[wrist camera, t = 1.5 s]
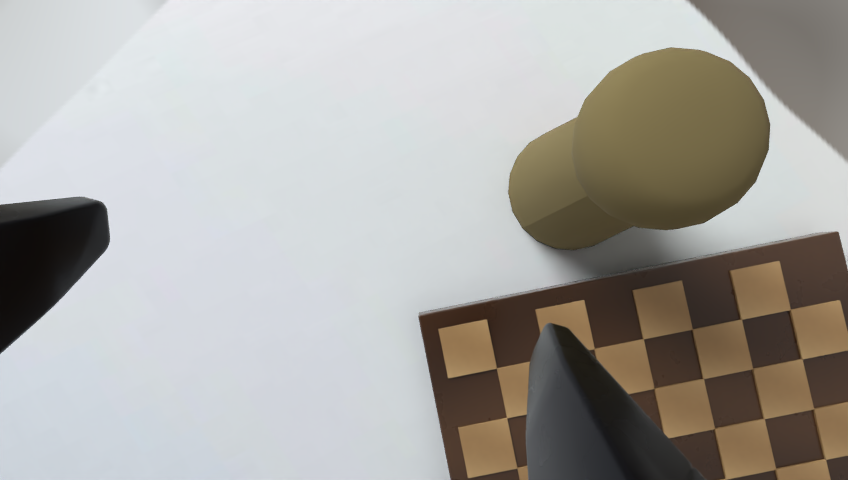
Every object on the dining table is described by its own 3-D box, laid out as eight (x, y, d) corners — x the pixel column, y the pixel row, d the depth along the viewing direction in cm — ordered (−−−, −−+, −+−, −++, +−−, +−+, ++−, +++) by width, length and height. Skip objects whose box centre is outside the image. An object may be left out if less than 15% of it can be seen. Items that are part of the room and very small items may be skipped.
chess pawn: (602, 110, 23) (759, -25, 12) (649, 223, 23) (854, 190, 12) (489, 155, 23) (544, 61, 12) (535, 268, 23) (635, 277, 12)
